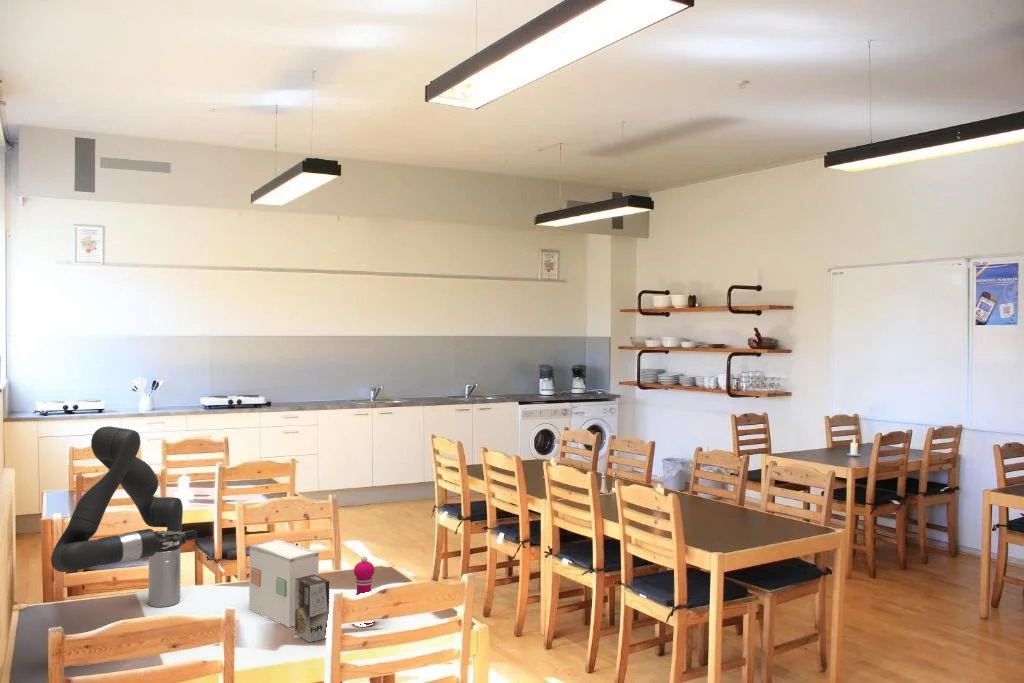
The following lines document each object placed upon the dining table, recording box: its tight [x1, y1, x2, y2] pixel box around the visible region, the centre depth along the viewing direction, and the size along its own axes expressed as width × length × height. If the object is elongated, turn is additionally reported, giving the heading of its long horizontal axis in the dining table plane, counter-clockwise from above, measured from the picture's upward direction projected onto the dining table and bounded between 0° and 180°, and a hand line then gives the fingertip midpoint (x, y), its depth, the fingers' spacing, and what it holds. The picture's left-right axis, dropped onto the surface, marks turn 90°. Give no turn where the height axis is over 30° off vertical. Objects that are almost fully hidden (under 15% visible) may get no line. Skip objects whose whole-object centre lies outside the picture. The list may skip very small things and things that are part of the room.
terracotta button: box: [251, 568, 261, 586], centre depth 251 cm, size 4×4×4 cm
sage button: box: [276, 578, 287, 597], centre depth 242 cm, size 4×4×4 cm
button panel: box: [248, 539, 320, 628], centre depth 249 cm, size 22×10×20 cm, turn 48°
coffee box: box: [294, 574, 331, 643], centre depth 232 cm, size 9×6×16 cm
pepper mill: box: [353, 556, 375, 625], centre depth 242 cm, size 7×7×20 cm
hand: (195, 534), depth 234 cm, fingers closed
